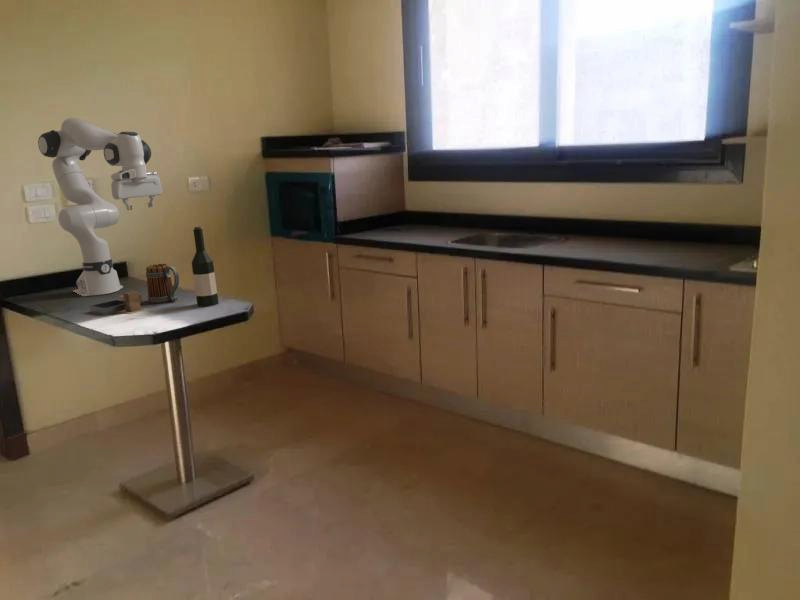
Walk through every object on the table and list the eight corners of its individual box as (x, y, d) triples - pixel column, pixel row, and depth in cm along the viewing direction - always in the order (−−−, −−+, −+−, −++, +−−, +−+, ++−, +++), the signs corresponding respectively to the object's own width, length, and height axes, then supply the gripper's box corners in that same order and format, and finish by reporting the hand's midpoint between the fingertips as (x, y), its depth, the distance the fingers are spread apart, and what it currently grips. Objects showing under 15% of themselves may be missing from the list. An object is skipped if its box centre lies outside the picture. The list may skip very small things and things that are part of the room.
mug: (142, 304, 267) (136, 267, 264) (163, 298, 276) (157, 262, 273) (171, 306, 260) (165, 268, 257) (191, 300, 269) (185, 263, 266)
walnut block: (125, 311, 255) (122, 293, 254) (135, 308, 258) (132, 290, 257) (131, 312, 253) (128, 294, 251) (141, 309, 256) (138, 291, 254)
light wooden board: (118, 313, 255) (118, 311, 255) (137, 308, 261) (137, 306, 261) (129, 315, 250) (129, 314, 250) (148, 310, 256) (148, 309, 256)
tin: (91, 313, 258) (89, 305, 257) (117, 306, 266) (116, 299, 266) (105, 316, 251) (104, 308, 251) (132, 309, 260) (131, 302, 259)
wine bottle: (221, 301, 264) (211, 225, 257) (215, 306, 255) (204, 227, 249) (200, 302, 264) (190, 226, 257) (193, 307, 256) (182, 229, 249)
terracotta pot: (120, 305, 268) (118, 296, 267) (134, 302, 272) (132, 293, 271) (128, 307, 264) (127, 297, 263) (142, 303, 269) (140, 294, 268)
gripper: (154, 171, 275) (159, 205, 278) (106, 175, 260) (112, 211, 263) (162, 171, 271) (167, 205, 274) (115, 175, 256) (121, 211, 259)
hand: (140, 208), depth 269 cm, fingers open, 8 cm apart
